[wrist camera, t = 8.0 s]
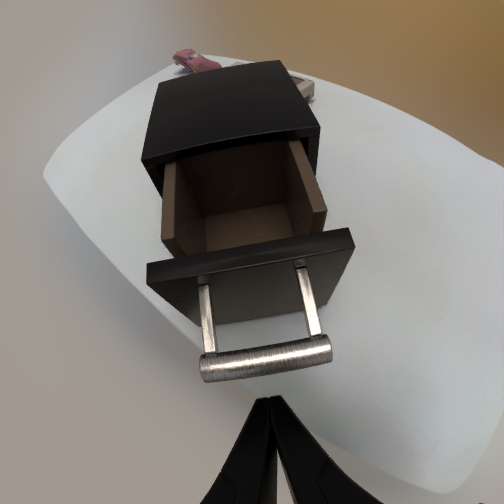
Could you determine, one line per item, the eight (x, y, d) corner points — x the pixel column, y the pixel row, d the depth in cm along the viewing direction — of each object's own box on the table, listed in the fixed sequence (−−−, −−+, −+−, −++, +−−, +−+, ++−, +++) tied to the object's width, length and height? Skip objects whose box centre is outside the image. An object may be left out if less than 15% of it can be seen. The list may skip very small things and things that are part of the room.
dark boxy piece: (309, 224, 26) (320, 126, 16) (189, 246, 26) (140, 160, 16) (283, 145, 31) (280, 59, 21) (188, 163, 32) (158, 82, 21)
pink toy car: (185, 74, 48) (164, 56, 41) (199, 59, 47) (180, 40, 40) (209, 86, 43) (187, 64, 37) (225, 69, 43) (205, 46, 36)
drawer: (339, 364, 19) (384, 346, 10) (205, 386, 19) (149, 384, 11) (298, 200, 26) (301, 118, 18) (192, 220, 26) (156, 145, 18)
